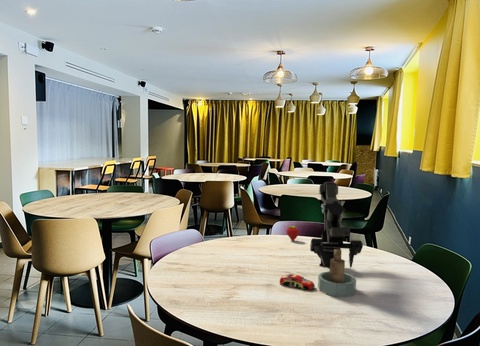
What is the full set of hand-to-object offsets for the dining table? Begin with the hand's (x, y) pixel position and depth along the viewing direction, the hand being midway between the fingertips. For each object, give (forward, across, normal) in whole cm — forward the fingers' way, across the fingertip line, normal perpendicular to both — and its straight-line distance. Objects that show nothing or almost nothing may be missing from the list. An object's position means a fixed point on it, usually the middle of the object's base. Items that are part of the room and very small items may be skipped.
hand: (338, 266), depth 130 cm
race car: (+5, -14, +9) cm, 18 cm away
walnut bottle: (+5, 0, +7) cm, 8 cm away
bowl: (+5, 0, +7) cm, 9 cm away
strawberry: (-42, -13, +55) cm, 71 cm away
